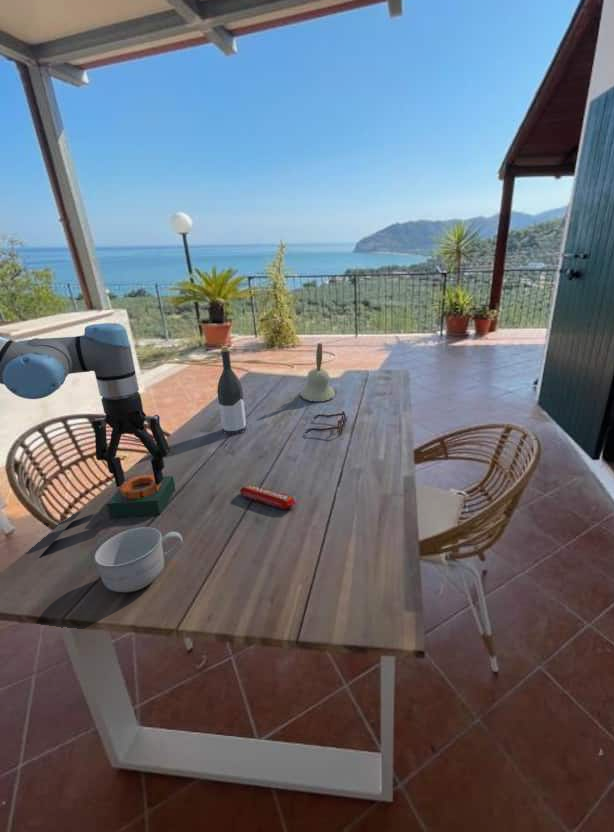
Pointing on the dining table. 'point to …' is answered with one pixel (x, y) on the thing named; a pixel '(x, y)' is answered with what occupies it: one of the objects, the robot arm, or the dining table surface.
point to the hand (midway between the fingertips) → (140, 482)
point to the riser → (142, 501)
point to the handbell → (317, 382)
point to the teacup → (134, 558)
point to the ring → (138, 493)
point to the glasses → (331, 427)
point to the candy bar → (267, 496)
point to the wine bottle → (230, 398)
